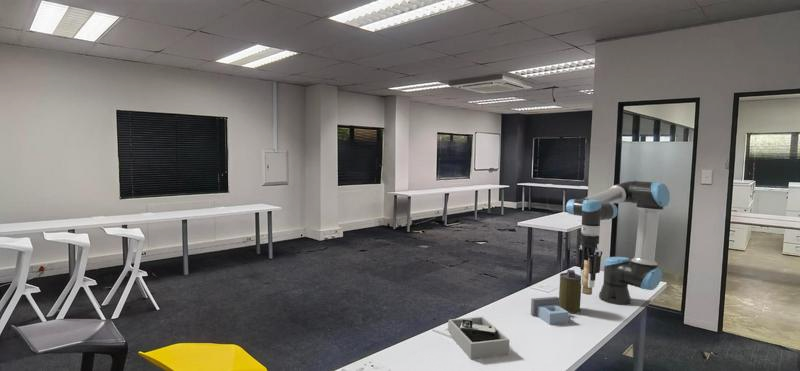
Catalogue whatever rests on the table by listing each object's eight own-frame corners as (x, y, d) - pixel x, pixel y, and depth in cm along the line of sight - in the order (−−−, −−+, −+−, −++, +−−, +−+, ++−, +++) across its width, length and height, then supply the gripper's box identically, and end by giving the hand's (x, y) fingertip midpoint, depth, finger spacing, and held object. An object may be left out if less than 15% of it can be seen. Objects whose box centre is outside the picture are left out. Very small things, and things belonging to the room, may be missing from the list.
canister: (582, 314, 201) (584, 274, 199) (559, 312, 203) (562, 272, 201) (577, 306, 212) (579, 268, 210) (556, 304, 214) (558, 266, 212)
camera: (497, 342, 169) (498, 318, 168) (495, 350, 162) (496, 325, 161) (460, 336, 174) (461, 313, 173) (457, 343, 167) (458, 319, 166)
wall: (555, 312, 203) (556, 296, 202) (558, 313, 201) (559, 297, 201) (530, 314, 200) (531, 298, 199) (533, 316, 198) (533, 300, 197)
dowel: (587, 291, 189) (589, 259, 188) (593, 294, 185) (595, 261, 184) (580, 292, 188) (582, 259, 187) (586, 295, 184) (588, 262, 183)
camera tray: (482, 329, 181) (482, 316, 181) (508, 354, 159) (509, 339, 159) (447, 333, 177) (448, 319, 177) (470, 359, 155) (471, 343, 154)
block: (554, 314, 201) (555, 304, 200) (568, 322, 191) (568, 312, 191) (536, 316, 198) (537, 305, 198) (549, 324, 188) (549, 313, 188)
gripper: (570, 231, 191) (568, 280, 193) (596, 238, 175) (593, 292, 177) (584, 230, 193) (581, 279, 195) (611, 237, 177) (608, 291, 179)
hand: (587, 285), depth 186 cm, fingers closed on dowel, 4 cm apart
